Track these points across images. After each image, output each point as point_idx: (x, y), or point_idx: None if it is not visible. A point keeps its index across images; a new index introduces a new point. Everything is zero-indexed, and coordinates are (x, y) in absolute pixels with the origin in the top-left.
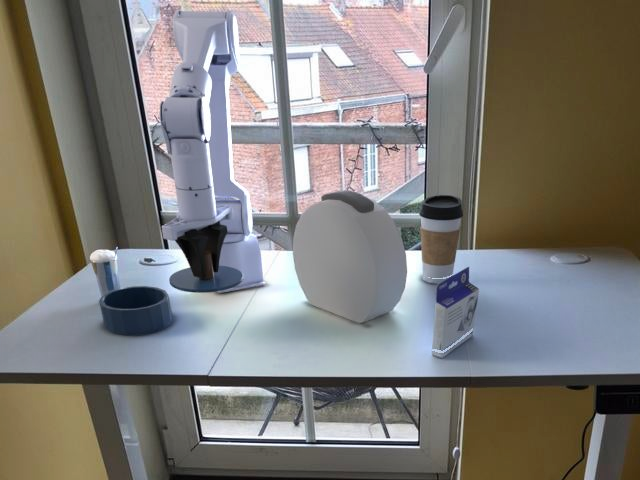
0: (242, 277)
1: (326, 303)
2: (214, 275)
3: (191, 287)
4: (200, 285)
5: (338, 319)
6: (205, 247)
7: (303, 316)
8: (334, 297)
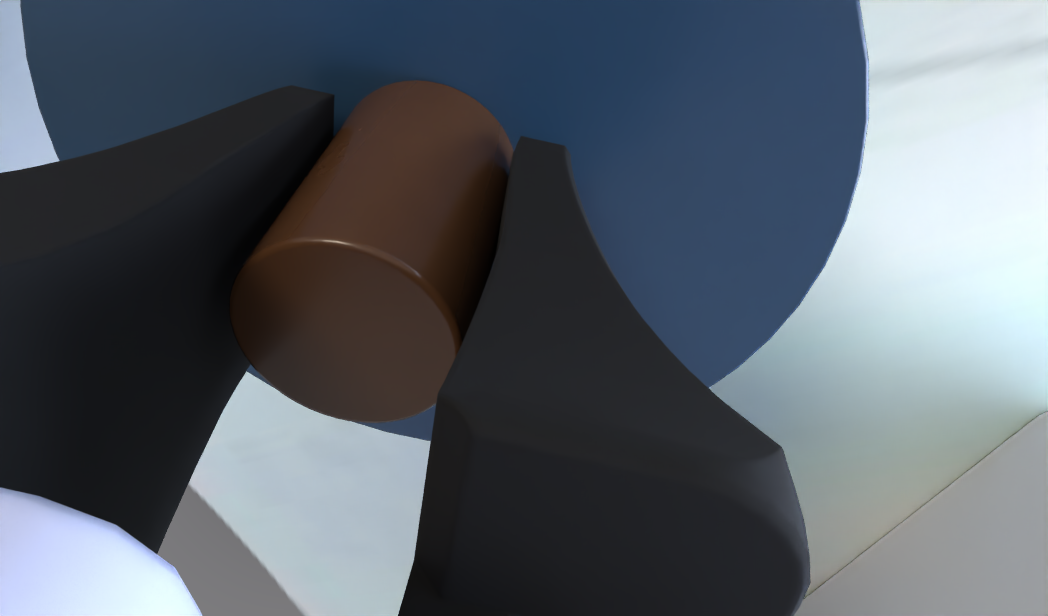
0: None
1: (949, 527)
2: None
3: None
4: None
5: (819, 547)
6: (161, 536)
7: (831, 419)
8: (912, 607)
